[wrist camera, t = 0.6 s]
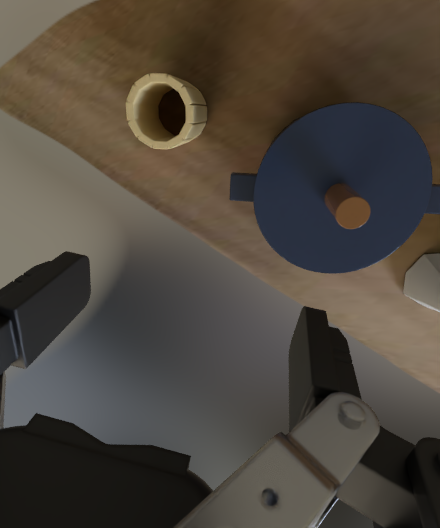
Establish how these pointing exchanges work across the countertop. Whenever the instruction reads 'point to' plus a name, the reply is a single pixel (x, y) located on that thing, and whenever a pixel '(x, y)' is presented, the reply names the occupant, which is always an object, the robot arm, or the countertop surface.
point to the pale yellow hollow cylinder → (147, 110)
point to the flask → (424, 281)
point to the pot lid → (342, 187)
